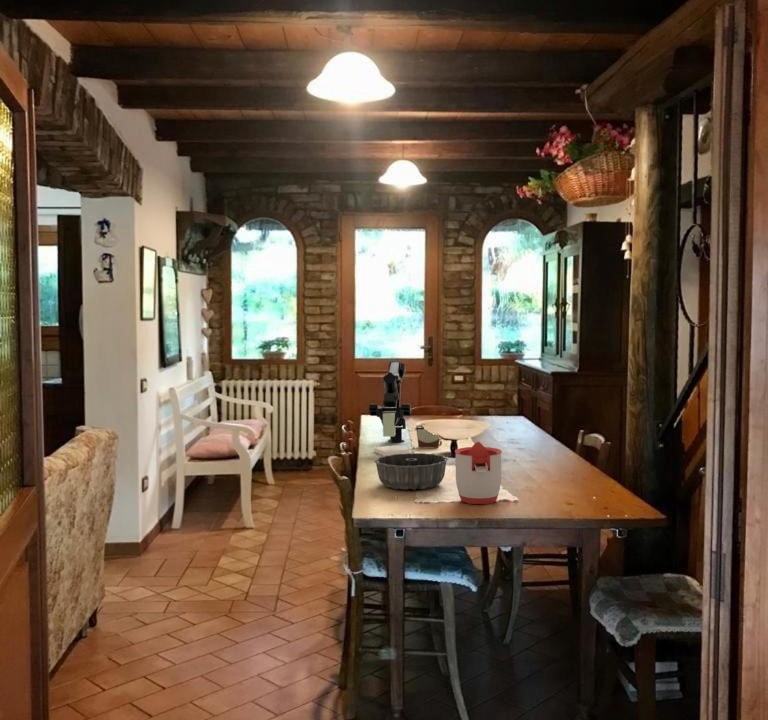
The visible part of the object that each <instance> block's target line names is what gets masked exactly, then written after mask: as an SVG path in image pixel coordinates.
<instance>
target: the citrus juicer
mask: <svg viewBox="0 0 768 720" xmlns="http://www.w3.org/2000/svg"><path fill="white" fill-rule="evenodd" d="M454 453H455V481H456V488H457V492H458V495H459V498H460V501H461V502H463V503H466V504H467V505H486V504H487V505H492V504H493V503H495V502H496V501H497V500H498V497H499V493H500V490H501V485H502V449H500V448H496V447H487V446H484V445H483V444H482V443H481V442H480V441H477V442H475V443H474V444H473V445H472V446H467V447H466V446H465V447H461V448H457V449H455V450H454Z"/></svg>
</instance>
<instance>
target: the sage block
mask: <svg viewBox="0 0 768 720" xmlns="http://www.w3.org/2000/svg"><path fill="white" fill-rule="evenodd" d="M394 421H395V413H388V412H383V425H382V436H383V437H384V438H385V437H389V438H390V437H394V436H395V427H396V426H395V425H394Z"/></svg>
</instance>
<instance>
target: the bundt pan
mask: <svg viewBox="0 0 768 720" xmlns="http://www.w3.org/2000/svg"><path fill="white" fill-rule="evenodd" d="M447 461H448V457H445V455H440V454H435V453H426V452H425V453H424V452H423V453H422V452H421V453H420V452H419V453H417V452H415V453H413V452H412V453H411V452H409V453H406V454H393V455H388V456H379V457H377V458H376V459H375V460H374V463H375V464H376V470H377V475H378V479H379V481H380V482H381V483H382V484H383V485H384V486H386V487H387V488H391V489H394V490H403V491H407V490H412V491H416V490H417V489H418V490H425V489H432V488H434V487H436V486H438V485H440V484H441V482H442V481H443V479H444V478H445V474H446V466H447Z"/></svg>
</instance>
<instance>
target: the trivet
mask: <svg viewBox="0 0 768 720" xmlns="http://www.w3.org/2000/svg"><path fill="white" fill-rule="evenodd" d="M373 452H374V453H376V454H378V455H381V456H382V457H384V456H388V455H393V454H406V453H410V449H409V448H407V447H404V446H401V445H399V444H398V445H386V446H375V447H373Z"/></svg>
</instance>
